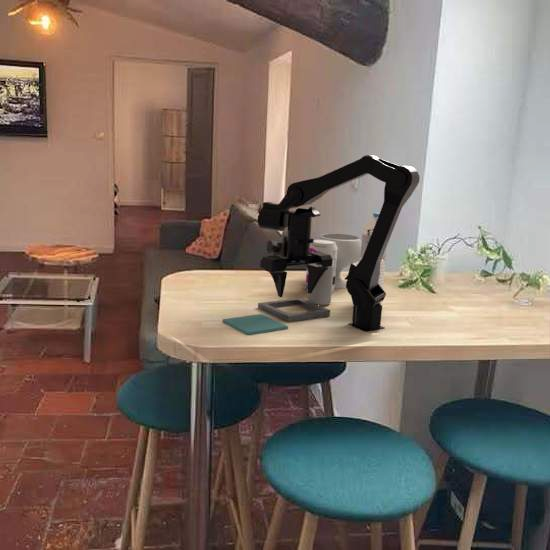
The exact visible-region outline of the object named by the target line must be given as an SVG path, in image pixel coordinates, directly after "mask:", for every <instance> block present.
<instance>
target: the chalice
mask: <svg viewBox="0 0 550 550" xmlns="http://www.w3.org/2000/svg"><path fill="white" fill-rule="evenodd" d="M318 239H322V240H331V241H334V242H336V246H337V261H336V273H335V286H334V289H346V282H347V280H345V279H342V278H341V273H342V271H343V270H345V268H347V267H350V265H351V264H352V263H354V262H356V261H359V260H360V255H361V244H362V239H361V238H360V237H358V236H357V235H352V234H347V233H346V234H344V233H322V234H320V236H319V238H318Z"/></svg>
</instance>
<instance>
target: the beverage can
mask: <svg viewBox="0 0 550 550" xmlns="http://www.w3.org/2000/svg"><path fill="white" fill-rule="evenodd" d="M333 271H334V265H333V261H332V266H329V267H328V270H326V271H325V272H324V273H323V275H322V276H321V278H320V279H319V281H318V283H317V284H316V286H315V288H314V290H313V291H312V293H311V294H309V293H308V292H307V296H306V297H307V298H306V301H308V302H311V303H313V304H316V305H319V306H321V307H324V306H328V305H329V304H331V303H332V294H333V293H332V283H333Z"/></svg>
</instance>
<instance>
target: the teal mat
mask: <svg viewBox="0 0 550 550" xmlns="http://www.w3.org/2000/svg"><path fill="white" fill-rule="evenodd" d="M222 323H224V324H226V325H227V326H230V327H232V328H234V329H235V330H238V331H240V332H241V333H243V334H245V335H247V336H251V335H257V334H263V333H269V332H275V331H282V330H283V331H284V330H288V329H289V326H288V325H286V324H284V323H282V322H279V321H278V320H276V319H273V318H271V317H269V316H267V315H265V314H262V313H257V314H253V315H252V314H251V315H245V316H238V317H237V316H236V317H230V318H222Z"/></svg>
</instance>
